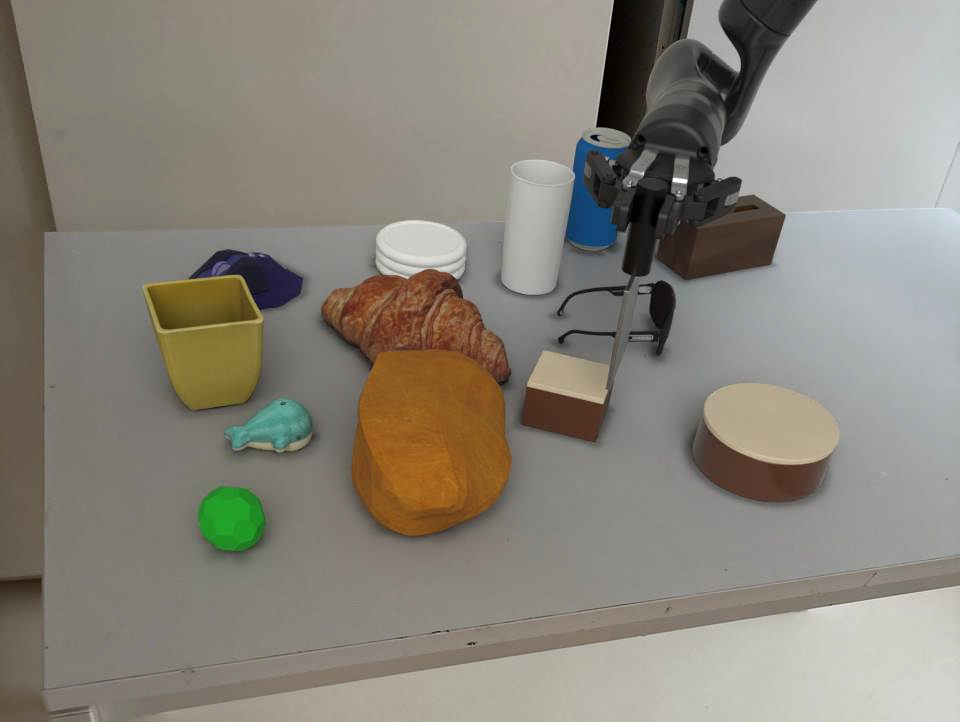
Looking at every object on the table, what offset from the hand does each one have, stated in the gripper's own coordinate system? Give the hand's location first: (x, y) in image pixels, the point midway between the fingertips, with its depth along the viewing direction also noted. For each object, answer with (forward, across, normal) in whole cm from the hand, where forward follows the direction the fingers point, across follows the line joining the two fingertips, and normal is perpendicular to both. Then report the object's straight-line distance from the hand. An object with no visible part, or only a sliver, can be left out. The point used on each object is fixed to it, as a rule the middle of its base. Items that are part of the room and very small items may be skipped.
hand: (641, 223), depth 77 cm
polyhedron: (+25, -24, +20) cm, 40 cm away
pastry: (-8, -21, +20) cm, 30 cm away
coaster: (-25, -26, +20) cm, 41 cm away
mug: (-29, -14, +20) cm, 38 cm away
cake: (-3, +14, +20) cm, 25 cm away
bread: (+11, -12, +20) cm, 26 cm away
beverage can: (-41, -10, +20) cm, 47 cm away
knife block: (-43, +5, +20) cm, 48 cm away
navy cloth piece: (-11, -41, +20) cm, 47 cm away
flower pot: (+7, -35, +20) cm, 41 cm away
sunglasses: (-20, -3, +20) cm, 29 cm away
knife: (-3, 0, +14) cm, 14 cm away
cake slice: (-3, -4, +20) cm, 21 cm away
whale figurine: (+12, -27, +20) cm, 35 cm away
